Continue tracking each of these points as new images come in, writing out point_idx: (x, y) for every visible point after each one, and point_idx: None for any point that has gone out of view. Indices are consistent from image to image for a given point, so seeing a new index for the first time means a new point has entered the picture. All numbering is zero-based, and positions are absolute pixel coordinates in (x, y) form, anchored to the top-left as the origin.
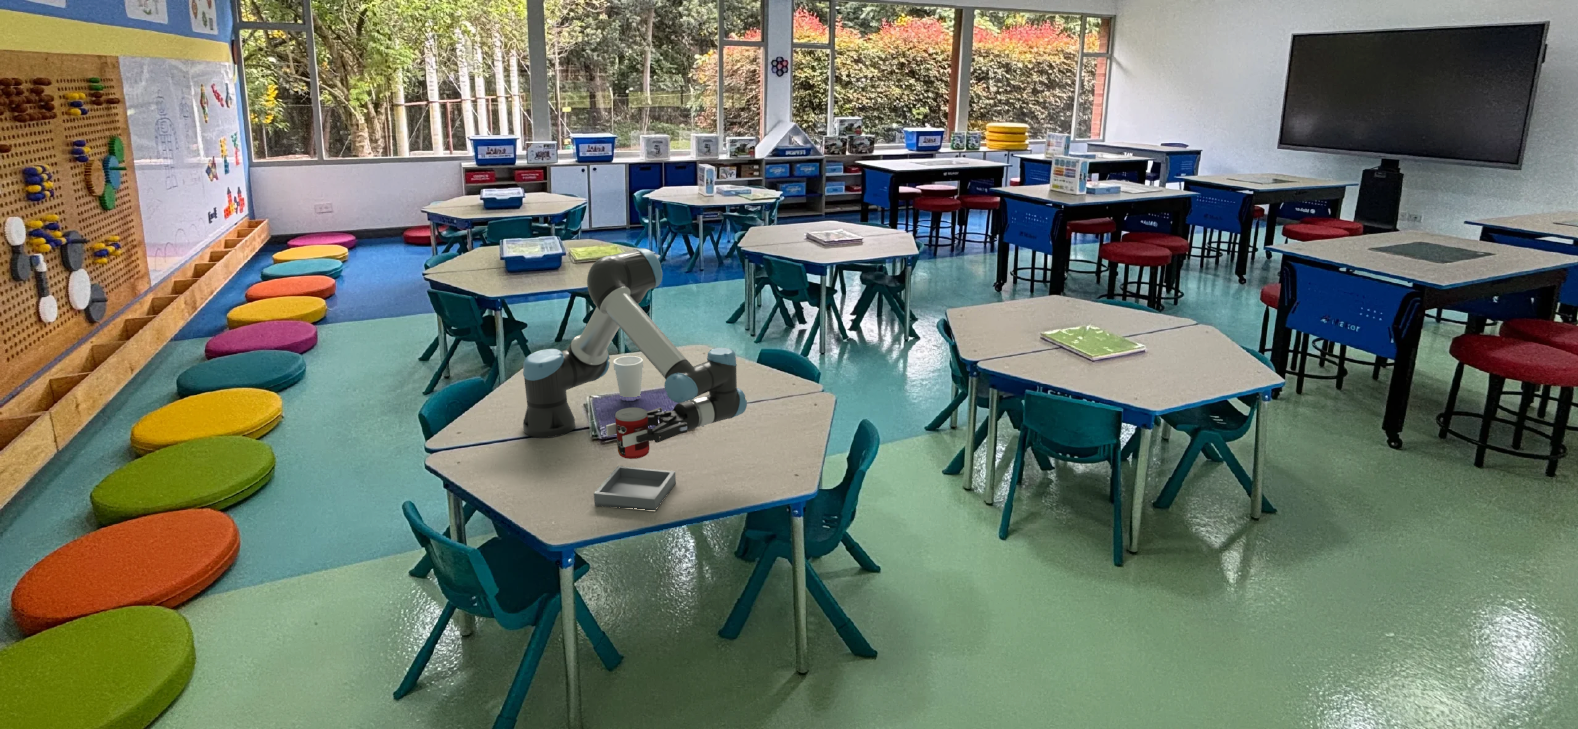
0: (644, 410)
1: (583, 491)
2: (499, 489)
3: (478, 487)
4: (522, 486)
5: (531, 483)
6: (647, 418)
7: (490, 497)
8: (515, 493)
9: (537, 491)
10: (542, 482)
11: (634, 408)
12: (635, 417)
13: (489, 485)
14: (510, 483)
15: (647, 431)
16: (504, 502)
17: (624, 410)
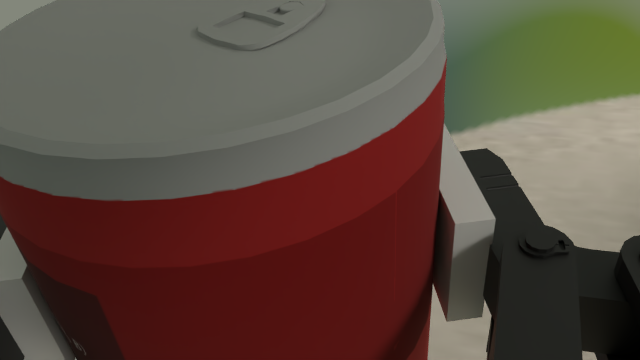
0: (153, 141)
1: (479, 336)
2: (593, 140)
3: (623, 109)
4: (601, 184)
5: (622, 206)
6: (29, 229)
7: (539, 122)
8: (547, 164)
9: (541, 210)
10: (623, 233)
11: (376, 70)
12: (73, 55)
13: (632, 126)
14: (636, 163)
15: (75, 353)
16: (489, 140)
17: (388, 9)
